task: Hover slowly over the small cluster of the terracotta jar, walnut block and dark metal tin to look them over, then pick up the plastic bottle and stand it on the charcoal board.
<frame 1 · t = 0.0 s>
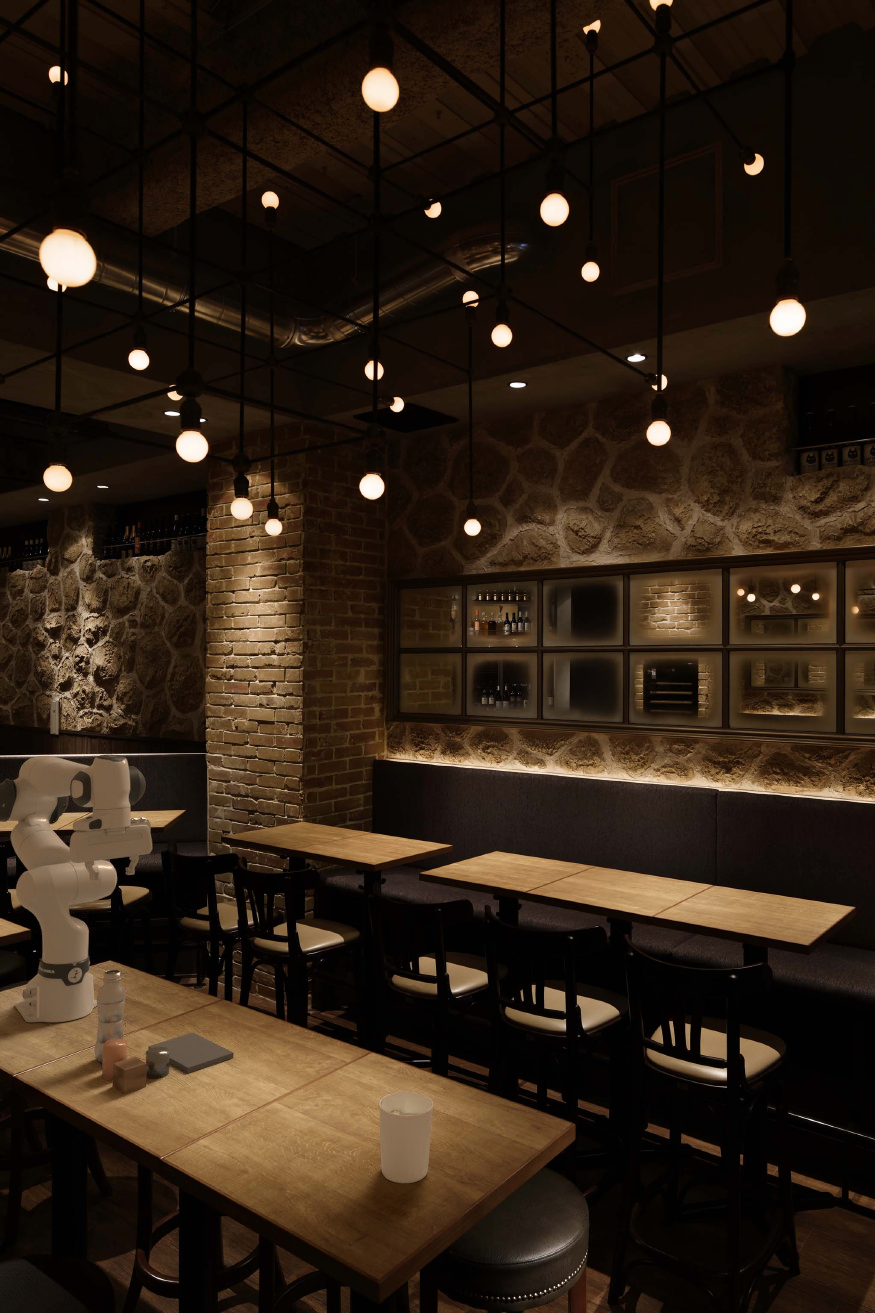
hand: (112, 877, 218), 39 cm above the table, tool pointing down, fingers open, 8 cm apart
charcoal board: (190, 1054, 208), on the table
terracotta jar: (114, 1075, 196), on the table
dark metal tin: (157, 1074, 197), on the table
candle holder: (404, 1172, 159), on the table
plastic bottle: (109, 1061, 203), on the table
walnut block: (129, 1087, 190), on the table
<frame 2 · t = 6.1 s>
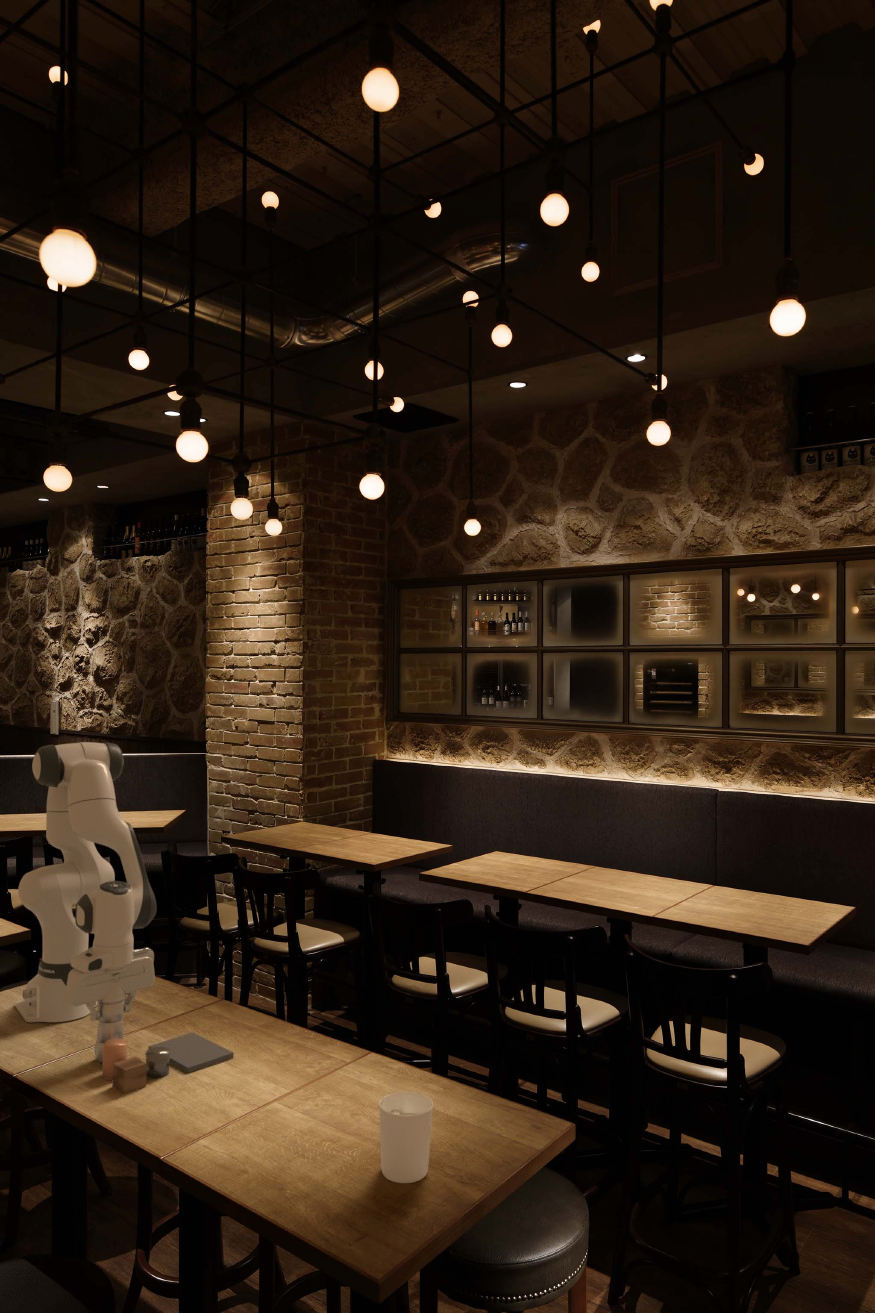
hand: (110, 1015, 204), 10 cm above the table, tool pointing down, fingers closed on plastic bottle, 6 cm apart
plastic bottle: (109, 1061, 203), on the table, touching gripper
everything else where it was.
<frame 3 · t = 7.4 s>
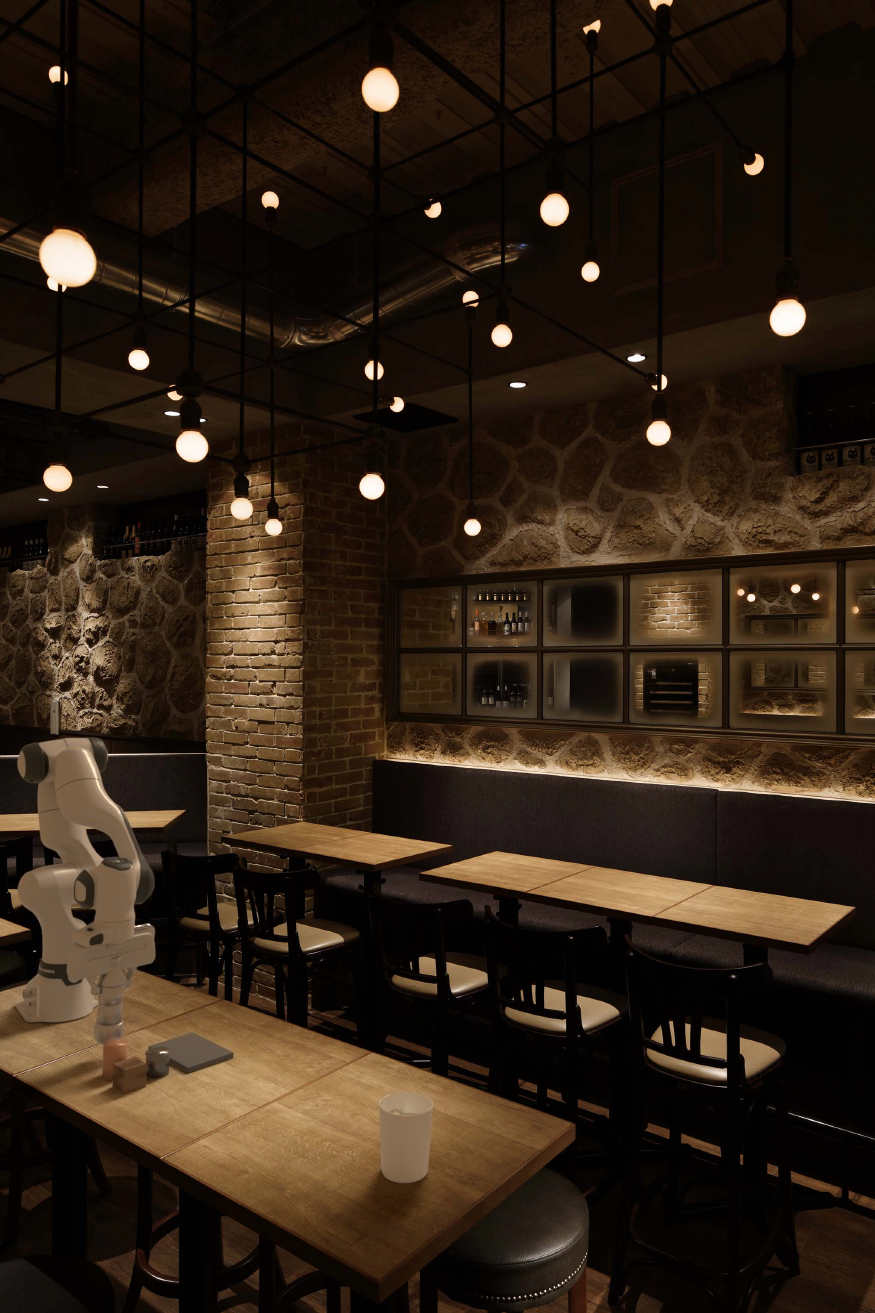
hand: (111, 990, 204), 16 cm above the table, tool pointing down, fingers closed on plastic bottle, 6 cm apart
plastic bottle: (107, 1042, 205), point 4 cm above the table, touching gripper
everything else where it was.
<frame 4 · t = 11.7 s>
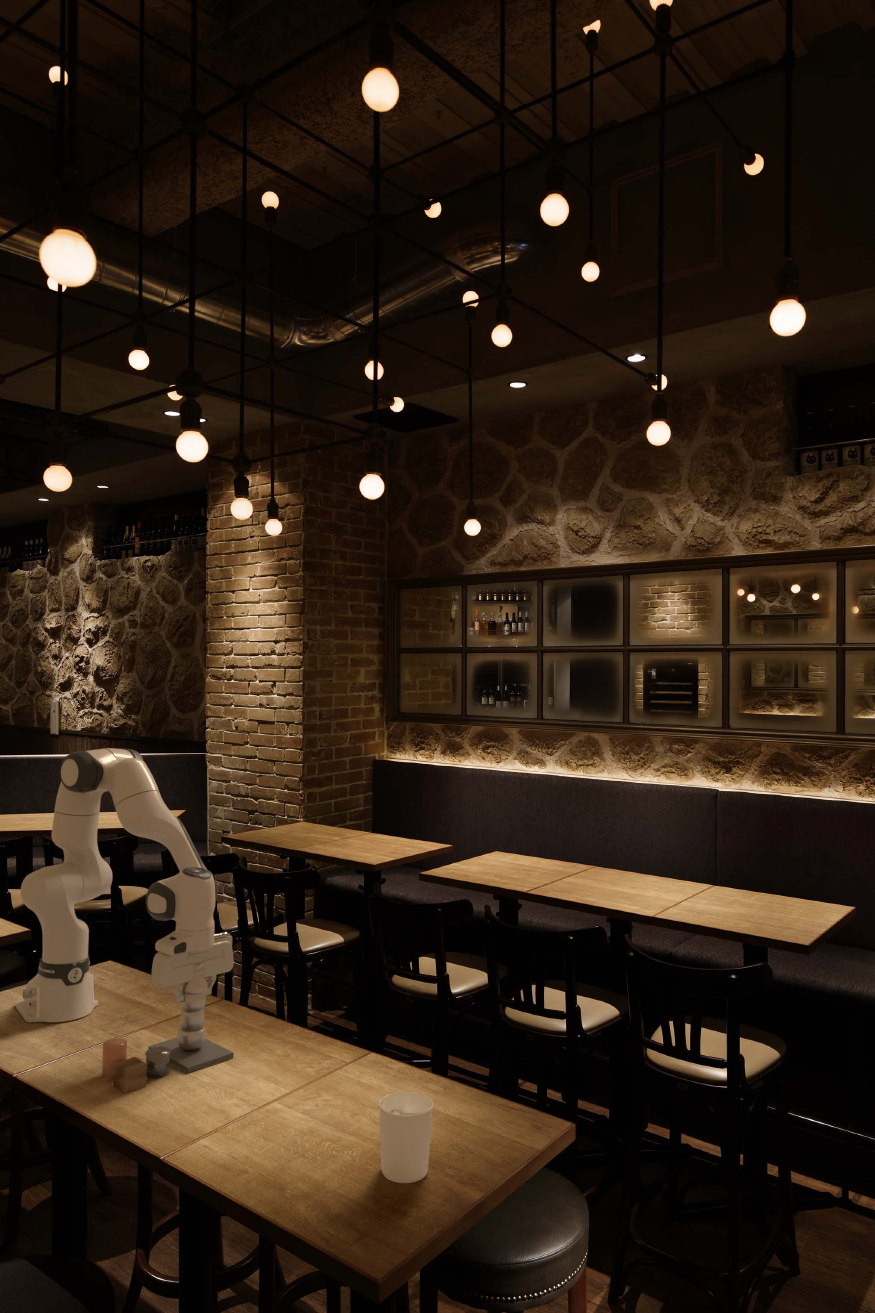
hand: (192, 998, 208), 13 cm above the table, tool pointing down, fingers closed on plastic bottle, 6 cm apart
plastic bottle: (190, 1048, 208), point 1 cm above the table, touching charcoal board, gripper
everything else where it was.
when the fingers open (13 cm above the table, at t = 12.0 s): plastic bottle stays where it is, resting on charcoal board.
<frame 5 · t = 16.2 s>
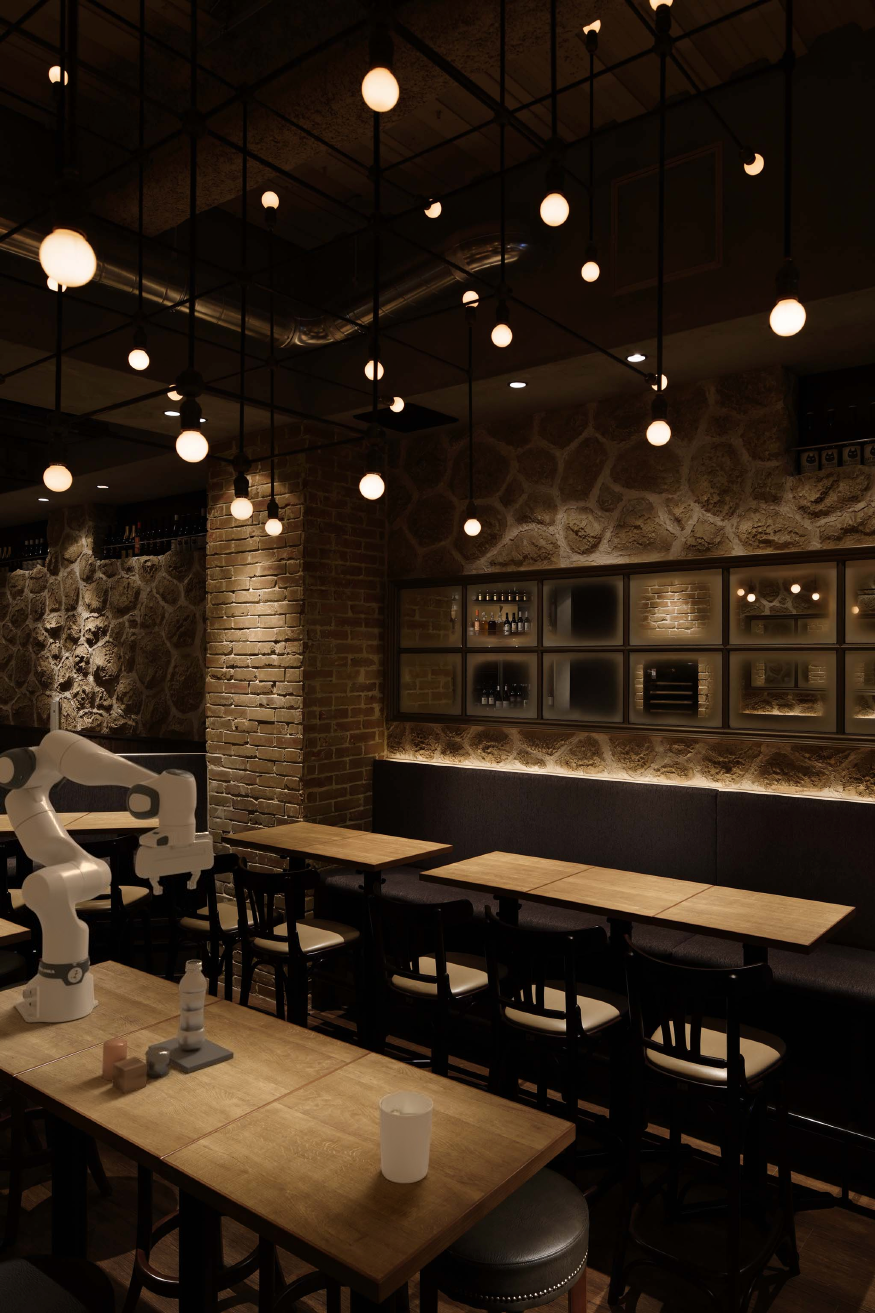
hand: (174, 891, 221), 35 cm above the table, tool pointing down, fingers open, 8 cm apart
plastic bottle: (190, 1049, 208), point 1 cm above the table, touching charcoal board
everything else where it was.
at the end: plastic bottle inside the target area (0.6 cm from its centre), point 1.0 cm above the table; plastic bottle tilted 0°; the gripper is holding nothing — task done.
